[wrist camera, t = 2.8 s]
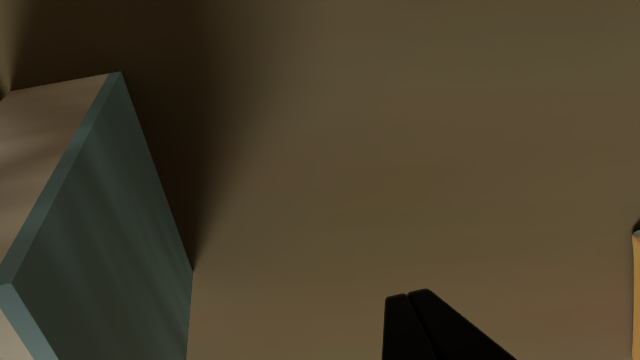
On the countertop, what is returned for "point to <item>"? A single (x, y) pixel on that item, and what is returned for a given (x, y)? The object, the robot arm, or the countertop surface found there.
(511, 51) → the countertop surface
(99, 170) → the beige and teal box
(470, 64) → the countertop surface
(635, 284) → the small box
